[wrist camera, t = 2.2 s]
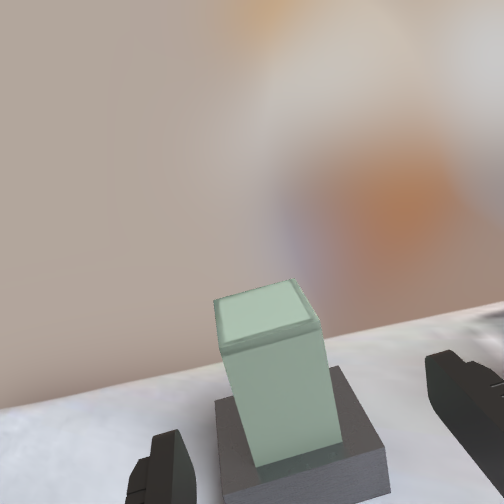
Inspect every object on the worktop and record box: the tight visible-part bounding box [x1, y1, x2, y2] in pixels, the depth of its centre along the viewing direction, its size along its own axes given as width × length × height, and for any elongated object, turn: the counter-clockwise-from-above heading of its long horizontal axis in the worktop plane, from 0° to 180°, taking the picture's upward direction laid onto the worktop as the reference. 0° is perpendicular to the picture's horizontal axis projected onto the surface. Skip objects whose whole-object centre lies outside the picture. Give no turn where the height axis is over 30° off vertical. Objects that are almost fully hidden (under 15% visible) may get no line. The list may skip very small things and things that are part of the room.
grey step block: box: [215, 366, 391, 504], centre depth 27 cm, size 10×8×8 cm
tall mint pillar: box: [213, 278, 343, 467], centre depth 26 cm, size 6×6×9 cm
